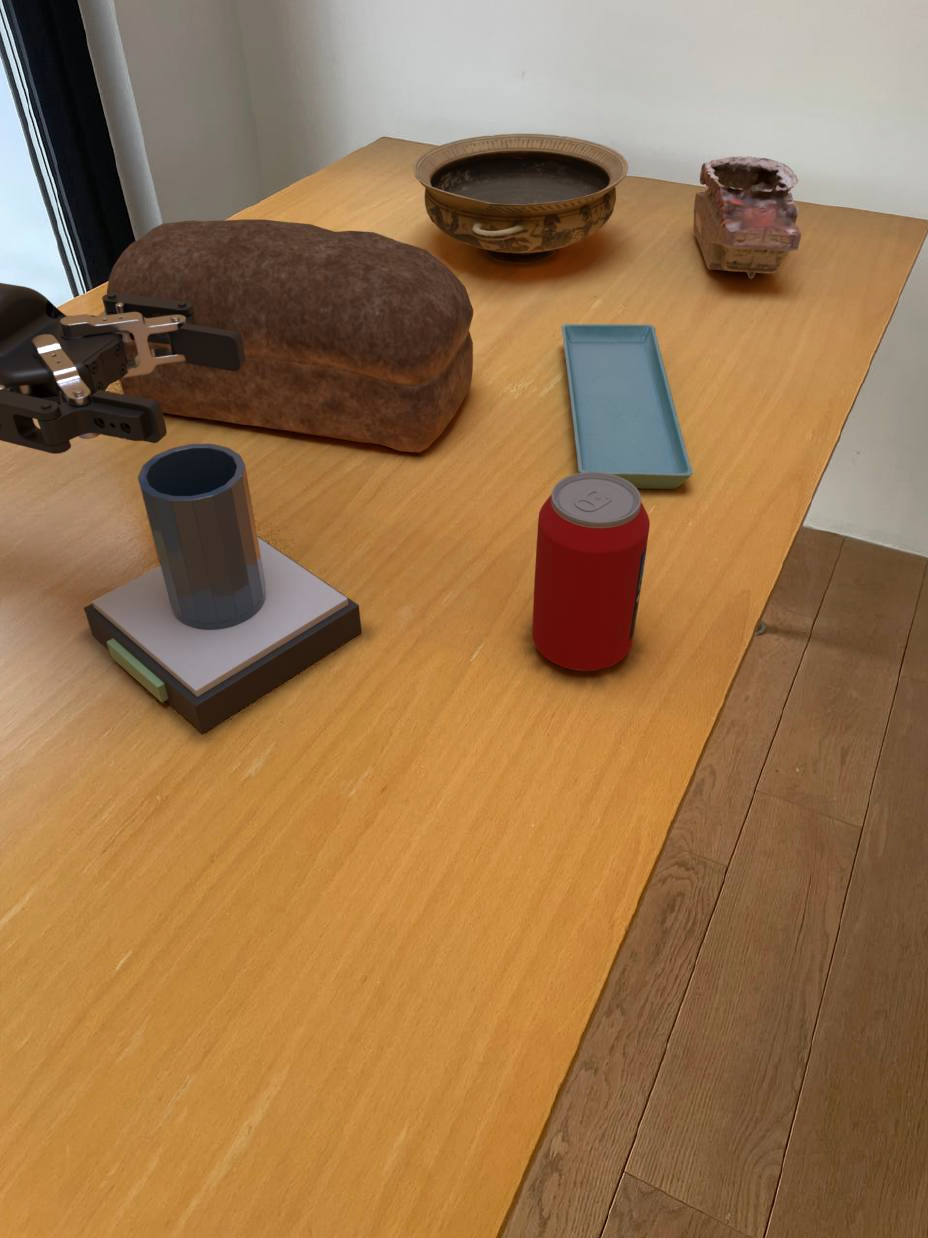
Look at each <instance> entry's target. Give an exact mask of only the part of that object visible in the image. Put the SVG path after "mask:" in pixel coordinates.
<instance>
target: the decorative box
mask: <svg viewBox="0 0 928 1238" xmlns="http://www.w3.org/2000/svg"><path fill="white" fill-rule="evenodd" d="M699 183H700V185H702V186H704V185H705V187H707V189H706V190H705V191H700V192H696V193H695V196H694V202H693V203H694V204H693V227H692V228H693V229H692V230H693V231H692V232H693V233H694V236H695V238H696V241H697V244H698V245H699V248H700V251H701V253H702V257H703V260H704V262H705V265H706V268H707V269H708V270H716V271H717V270H718V271H728V272H739V273H741V272H743V273H746V274H747V276H748V278H749V279H753V278H755V276H756V273H757V274H758V273H759V274H775V273H776V272H777V271H778V270H779V268H780V266H781V265H782V264H783V261H784V260H785V259H786V257H787V256H788V254H789V253H790V252H793V251H798V250H799V246H800V242H801V238H802V232H801V229H800V226H799V225H797V223H796V222H797V218H798V214H799V207H798V204H796V202H795V201H794V197H793V193H792V192H791V190H792V189H794V187H796V185H797V184H798V183H799V180H798V177H797V175H796V174H795V173H794V170H793V169H792V168H791V167H790V166H788V165H786V164H785V163H783V162H780V161H778V160H775V159H770V158H766V157H756V156H752V155H751V156H750V155H749V156H740V155H739V156H729V157H722V158H719V159H718V158H717V159H713V160H710V161H709V162H704V163H703V164H702V165H701V168H700V173H699Z"/></svg>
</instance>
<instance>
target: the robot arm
mask: <svg viewBox="0 0 928 1238" xmlns="http://www.w3.org/2000/svg"><path fill="white" fill-rule="evenodd" d="M101 300H102V304H103V308H104V310H103V311H102V312H100V313H99V314H98V315H93V314H87V313H82V314H74V315H66V314H65V313H64V312H62V311H61V310H59V308H58V307H56V306H55V305H54V304H53V303H52V302H51V301H50V300H49V299H48V298H47V297H46V296H45V295H44V294H42V293H41V292H39V291H38V290H35V289H34V288H32V287H31V288H30V287H28V286H23V285H17V284H10V283H3V282H0V441H1V442H5V443H9V444H13V445H17V446H21V447H24V448H28V449H32V450H37V451H40V452H44V453H49V454H53V455H54V454H55V455H57V454H58V455H59V454H62V453H66V452H67V451H69V450H70V449H71V448H72V445H71V442H70V441H71V440H73V439H75V438H77V437H78V438H80V439H83V440H90V439H94V438H97V437H99V436H100V435H101V436H108V437H113V438H118V439H123V440H127V441H133V442H142V441H143V442H145V443H151V444H157V443H159V442H160V441H161V440H162V439H163V438H164V437H165V436H166V435H167V433H168V429H167V426H166V421H165V417H164V412H162V408H161V406H160V405H159V403H158V402H156V401H155V400H152V399H146V398H141V397H135V396H130V395H125V394H124V393H118V392H113V391H107V389H108V388H109V386H110V385H113V384H114V383H116V382H117V381H120V380H119V379H121V378H126V377H132V376H139V375H146V374H150V373H152V372H153V371H154V368H155V367H156V366H157V365H161V364H168V363H174V362H181V361H186V363H189V364H194V365H200V366H206V367H212V368H218V369H224V370H229V371H238V370H239V369H240V368H241V367H242V366H243V365H244V364H245V362H246V359H245V353H244V346H243V340H242V337H241V336H240V335H239V334H238V333H237V332H235V331H230V330H223V329H217V328H211V327H205V326H198V325H196V323H195V318H194V310H193V305H192V303H191V302H187V301H179V300H171V299H163V298H154V297H146V296H138V295H130V294H121V293H109V294H107V293H106V294H104V295H103V296H102V297H101ZM163 315H169V316H163ZM122 339H124V342H131V341H132V340H135V343H136V348H137V352H138V355H137V357H136V358H134V359H132V360H127V355H126V351H125V347H124V343H123V341H122ZM148 342H151V343H159V344H167V345H170V347H167V348H160V349H152V348H151V347H150V346H149V343H148ZM34 420H37V423H38V426H39V427H38V426H37V425H36V424H35V421H34Z"/></svg>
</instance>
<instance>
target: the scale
mask: <svg viewBox="0 0 928 1238" xmlns="http://www.w3.org/2000/svg"><path fill="white" fill-rule="evenodd" d="M257 537H258V543H259V549H260V555H261V560H262V566H263V572H264V578H265V584H266V586H265V588H266V599H265V602H264V604H263V606H262V607H261V609H260V610H259V611H258V612H257V613H256V614H255V615H254V616H253V617H251V618H250V619H248V620H246V621H245V622H243V623H240V624H238V625H235V626H232V627H229V628H224V629H217V630H203V629H197V628H193V627H190V626H187V625H185V624H183V623H182V622H180V621H179V620H178V619H177V618H176V617H175V616H174V614H173V612H172V609H171V605H170V602H169V599H168V595H167V591H166V587H165V583H164V579H163V575H162V571H161V567H160V565H158V566H156V567H155V568H153V569H150V570H148V571H147V572H145V573H143V574H141V575H139V576H137V577H135V578H133V579H131V580H130V581H127V582H126V583H124V584H122V585H120V586H117V587H116V588H114V589H112V590H110V591H108V592H106V593H104V594H102V595H100V596H99V597H97V598H95V599H93V600H91V604H90V603H89V604H88V605H86V606H85V607H83V611H84V614H85V617H86V621H87V623H88V627H89V629H90V632H91V635H92V636H93V637H94V638H95V639H96V640H97V641H98V642H99V643H100V644H101V645H102V646H104V648H106V649H107V650H108V652H109V655H110V658H111V659H113V660H114V661H115V662H116V663H117V664H118V665H119V666H120V667H122V668H123V669H124V670H125V671H126V672H127V673H128V674H129V675H131V677H133V678H134V679H135V680H136V681H137V683H139V684H141V686H142V687H143V688H145V689H146V690H147V691H148V692H149V693H151V694H152V696H153V697H155V698H156V699H157V700H158V701H159V702H161V703H164V702H166V703H167V704H168V705H170V706H171V707H172V708H173V709H174V710H175V711H176V712H177V713H178V714H180V716H182V718H184V719H185V720H186V721H187V722H189V723H190V725H192V726H193V727H194V728H195V729H197V730H198V731H199V732H200V733H201V734H202V735H203V734H205V733H206V732H208V731H210V730H211V729H213V728H215V727H216V726H217V725H219V724H220V723H222V722H225V720H227V719H229V718H230V717H231V716H233V715H235V714H236V713H238V712H239V711H242V710H243V709H244V708H245V707H247V706H249V705H251V704H252V703H254V702H255V701H257V700H258V699H260V698H261V697H263V696H265V695H266V694H267V693H269V692H271V691H272V690H274V689H275V688H277V687H278V686H279V687H280V685H282V684H284V683H285V682H286V681H288V680H289V679H291V678H293V677H294V676H296V675H297V674H299V673H300V672H302V671H305V670H306V669H307V668H309V667H310V666H311V665H313V664H314V663H316V662H318V661H319V660H321V659H322V658H324V657H326V656H327V655H329V654H331V653H332V652H333V651H335V650H336V649H338V648H340V647H341V646H343V645H345V644H346V643H347V642H349V641H351V640H352V639H354V638H355V637H357V636H358V635H360V634H361V633H362V624H361V613H360V605H359V604H358V603H356V602H355V601H354V600H352V599H351V598H349V597H348V596H346V595H345V594H343V592H340V591H339V590H337V589H336V588H335V587H333V586H332V585H331V584H329V583H327V582H326V581H324V580H323V579H322V578H320V577H319V576H317V575H316V574H314V573H313V572H312V571H310V570H308V569H307V568H306V567H304V566H303V565H301V564H300V563H298V562H296V560H294V559H292V558H291V557H290V556H288V555H287V554H285V553H283V552H282V551H281V550H279V549H278V548H276V547H275V546H274V545H272V544H270V543H269V542H268V541H266V540H265V539H263V538H261V537H260V536H259V535H257Z"/></svg>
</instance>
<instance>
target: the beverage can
mask: <svg viewBox="0 0 928 1238" xmlns="http://www.w3.org/2000/svg"><path fill="white" fill-rule="evenodd" d="M649 533H650V518H649V514H648V512H647V510H646V508H645V505H644V504H643V502H642V495H641V493H640V491H639V489H638V488H636V487H635V486H634V485H633V484H631V483H630V482H629V481H627V480H625V479H623V478H621V477H618V476H616V475H612V474H608V473H602V472H583V473H579V472H576V473H573V474H570V475H568V476H565V477H564V478H562V479H560V480H559V481H558V482H556V484H555V485H554V486H553V488H552V489H551V493H550V495H549V496H548V498H547V499H546V500H545V501H544V503H543V504H542V506H541V507H540V509H539V512H538V519H537V535H536V547H535V548H536V549H535V566H534V585H533V602H532V603H533V605H532V607H533V608H532V628H531V630H532V631H531V637H532V641H533V644H534V646H535V647H536V649H537V651H538V652H539V653H540V654H541V655H542V656H543V657H545V658H546V659H547V660H549V662H552V663H554V664H555V665H557V666H559V667H562V668H566V669H570V670H574V671H588V672H589V671H590V672H591V671H598V670H602V669H606V668H609V667H612V666H614V665H616V664H618V663H619V662H621V661H622V660H623V659H624V658H626V656H627V655H628V654H629V652H630V650H631V649H632V645H633V640H634V636H635V635H634V634H635V630H636V622H637V617H638V611H639V603H640V597H641V592H642V591H641V590H642V583H643V576H644V570H645V562H646V558H647V557H646V556H647V549H648V541H649Z"/></svg>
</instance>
